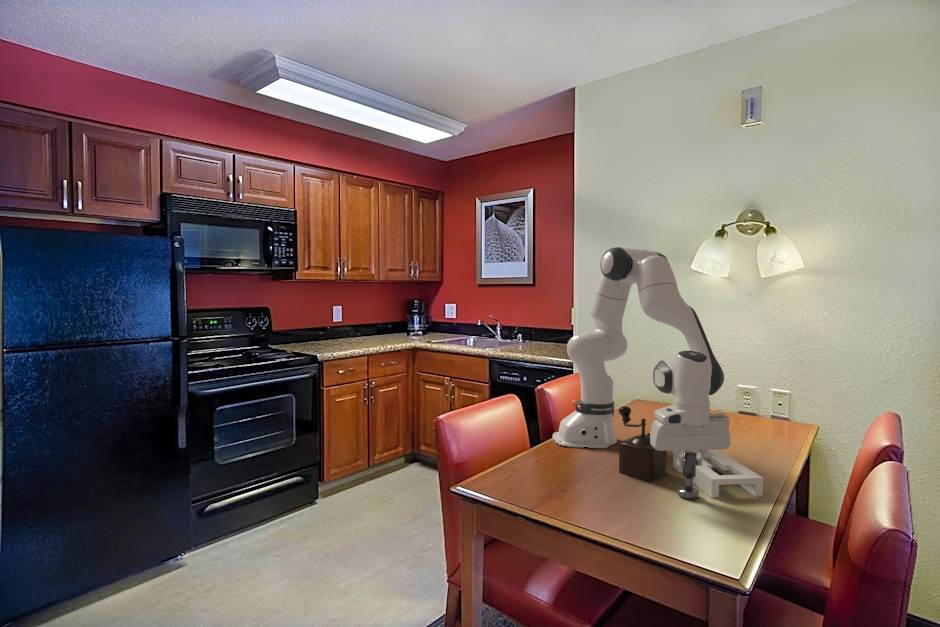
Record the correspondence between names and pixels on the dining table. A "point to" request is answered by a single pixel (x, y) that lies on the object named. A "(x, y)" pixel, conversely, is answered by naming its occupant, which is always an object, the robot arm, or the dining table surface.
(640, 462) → the manual coffee grinder
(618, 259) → the robot arm
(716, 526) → the dining table surface
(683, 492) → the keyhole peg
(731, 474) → the keyhole board
